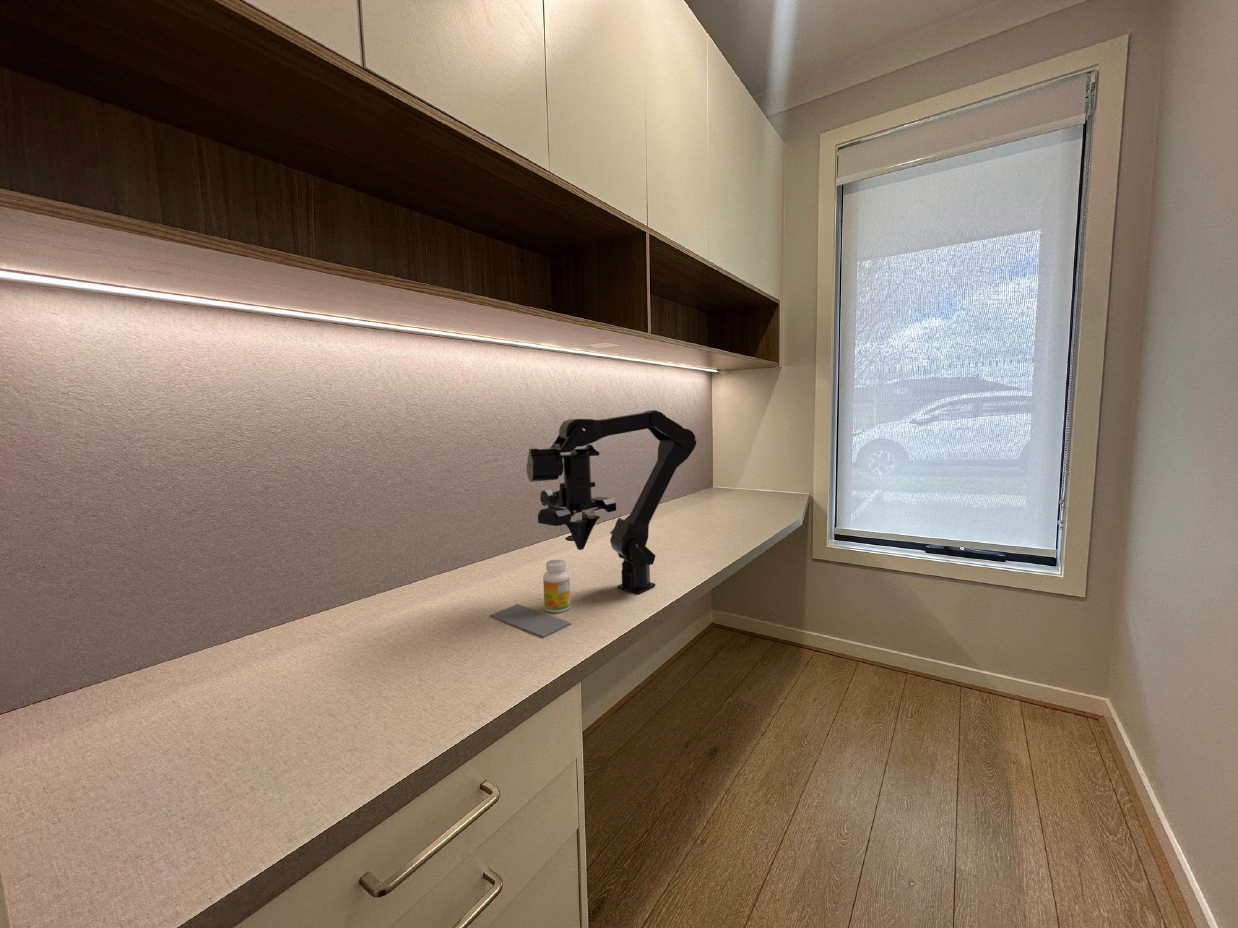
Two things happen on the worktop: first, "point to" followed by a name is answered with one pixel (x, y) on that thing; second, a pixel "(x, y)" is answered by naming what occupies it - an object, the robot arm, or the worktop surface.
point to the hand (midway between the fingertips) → (580, 549)
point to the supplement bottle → (556, 587)
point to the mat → (530, 620)
